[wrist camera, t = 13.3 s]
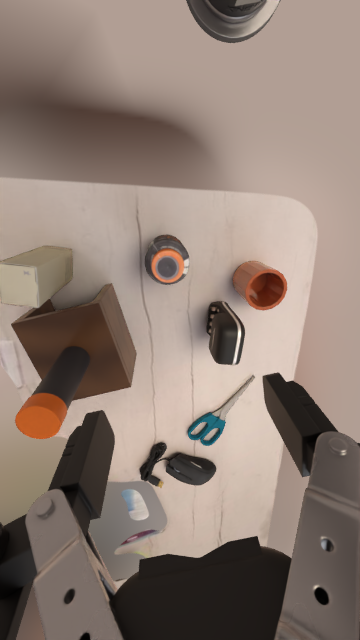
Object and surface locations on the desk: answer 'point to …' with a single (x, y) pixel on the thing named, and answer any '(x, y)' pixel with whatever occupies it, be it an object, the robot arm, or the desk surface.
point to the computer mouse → (178, 468)
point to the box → (35, 276)
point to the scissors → (215, 419)
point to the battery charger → (225, 334)
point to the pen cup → (259, 285)
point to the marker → (53, 395)
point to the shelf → (82, 341)
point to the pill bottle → (167, 260)
